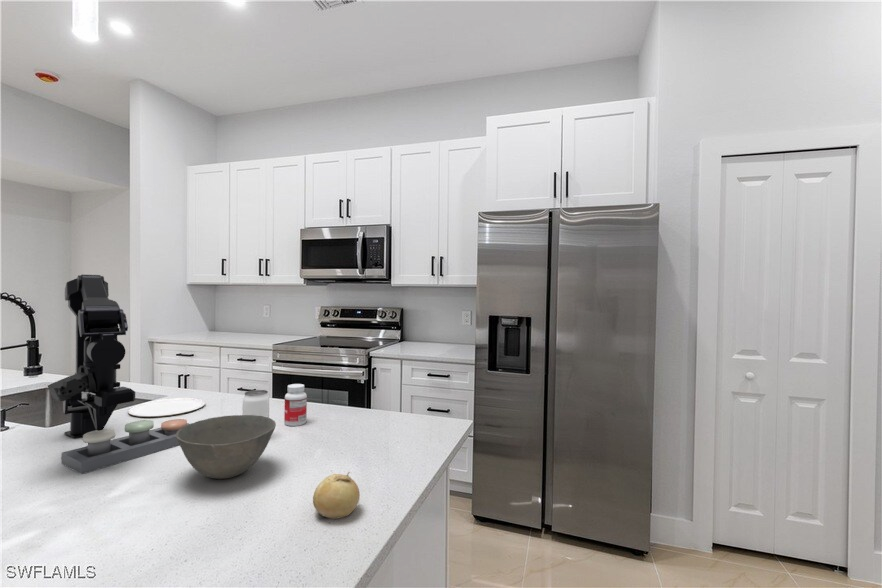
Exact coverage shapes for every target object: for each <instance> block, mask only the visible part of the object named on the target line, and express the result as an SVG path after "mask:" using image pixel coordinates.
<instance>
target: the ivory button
mask: <svg viewBox="0 0 882 588" xmlns="http://www.w3.org/2000/svg"><path fill="white" fill-rule="evenodd" d="M115 437H116V430H115V429H112V428H106V429H105V428H104V429H103V430H100V431H97V430H96V431H91V432H88V433H86V434H84V435H83V437H82V442H83V443H85V444H87V446H88V455H100V454H104V453H107V452H109V451H110V450H111V440H113V439H115Z"/></svg>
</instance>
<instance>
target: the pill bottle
mask: <svg viewBox="0 0 882 588" xmlns="http://www.w3.org/2000/svg"><path fill="white" fill-rule="evenodd" d="M286 390H287V393H285V395H284V411H283V412H284V414H283V415H284V419H283V420H284V421H283V422H284V425H286V426H288V427H299V426H303V425H305V424H306V422H307V415H308V414H307V410H308V409H307V407H308V406H307V405H308V397H307V392H305V384H302V383H292V384H288V385H287V389H286Z"/></svg>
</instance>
